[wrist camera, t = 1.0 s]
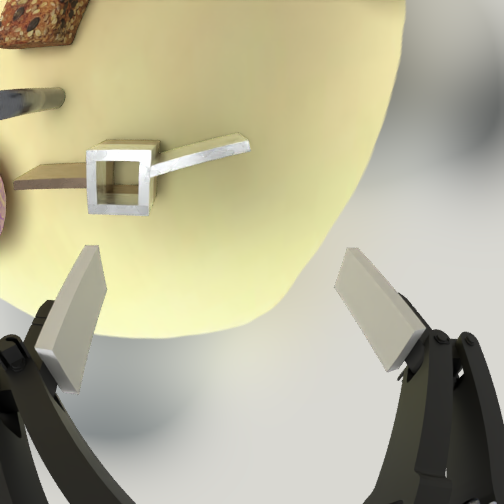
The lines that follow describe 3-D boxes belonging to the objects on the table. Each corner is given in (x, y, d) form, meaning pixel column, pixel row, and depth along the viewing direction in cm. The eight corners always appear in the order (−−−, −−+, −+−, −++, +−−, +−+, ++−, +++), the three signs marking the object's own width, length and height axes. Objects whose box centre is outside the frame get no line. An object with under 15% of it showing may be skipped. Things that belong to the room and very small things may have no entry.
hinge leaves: (39, 130, 27) (11, 140, 20) (241, 132, 34) (252, 140, 28) (41, 192, 31) (17, 213, 25) (231, 198, 38) (239, 221, 32)
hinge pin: (48, 89, 24) (-19, 94, 12) (66, 86, 25) (1, 88, 12) (46, 109, 26) (-21, 125, 13) (64, 107, 26) (-1, 120, 14)
